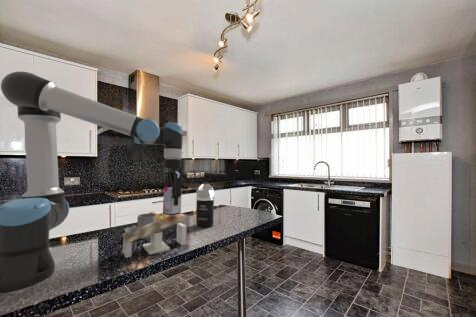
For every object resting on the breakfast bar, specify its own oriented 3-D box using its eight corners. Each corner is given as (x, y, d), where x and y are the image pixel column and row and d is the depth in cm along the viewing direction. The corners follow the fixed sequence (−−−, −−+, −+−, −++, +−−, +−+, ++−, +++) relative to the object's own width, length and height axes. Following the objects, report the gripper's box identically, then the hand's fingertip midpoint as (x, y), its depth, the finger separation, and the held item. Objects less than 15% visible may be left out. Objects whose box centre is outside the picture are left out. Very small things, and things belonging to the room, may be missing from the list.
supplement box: (181, 213, 96) (182, 187, 96) (169, 215, 92) (169, 188, 92) (174, 211, 100) (175, 186, 100) (162, 213, 96) (162, 187, 96)
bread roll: (168, 222, 133) (168, 209, 133) (174, 226, 125) (175, 211, 125) (146, 225, 125) (146, 211, 125) (151, 229, 117) (151, 214, 117)
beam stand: (126, 259, 80) (127, 237, 81) (121, 251, 88) (122, 230, 89) (187, 245, 95) (188, 226, 95) (179, 239, 103) (179, 221, 103)
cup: (148, 239, 102) (149, 217, 103) (133, 238, 104) (133, 216, 104) (158, 233, 111) (159, 213, 111) (144, 232, 112) (144, 213, 113)
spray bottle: (212, 228, 121) (213, 182, 122) (194, 228, 121) (194, 182, 122) (214, 223, 132) (215, 181, 132) (197, 223, 132) (198, 181, 132)
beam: (127, 245, 81) (125, 235, 81) (123, 239, 88) (121, 229, 88) (187, 220, 95) (185, 211, 95) (179, 216, 102) (177, 208, 102)
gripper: (190, 158, 91) (189, 214, 90) (173, 159, 106) (172, 207, 106) (172, 158, 86) (171, 217, 86) (157, 158, 102) (156, 208, 101)
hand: (172, 211), depth 96 cm, fingers closed on supplement box, 6 cm apart
